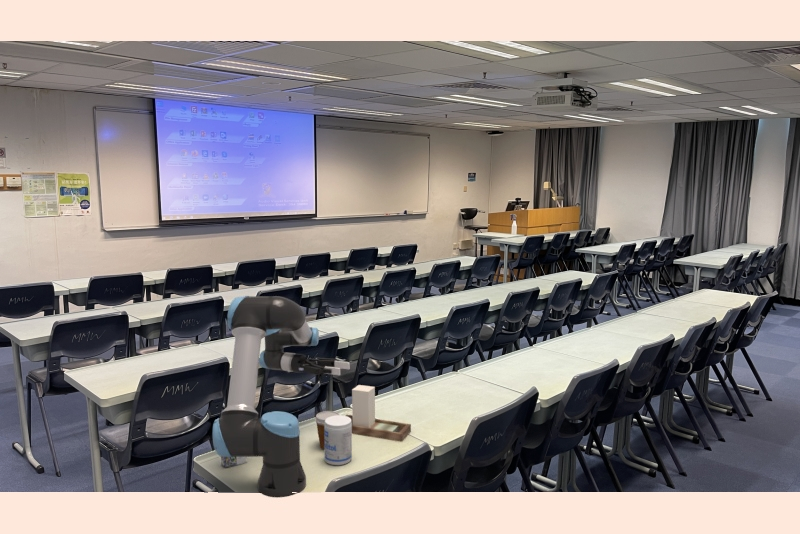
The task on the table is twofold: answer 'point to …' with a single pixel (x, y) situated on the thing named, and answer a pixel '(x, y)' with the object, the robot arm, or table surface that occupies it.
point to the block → (363, 406)
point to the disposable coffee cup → (321, 422)
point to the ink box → (232, 461)
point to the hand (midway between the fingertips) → (344, 368)
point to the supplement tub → (338, 440)
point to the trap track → (383, 430)
